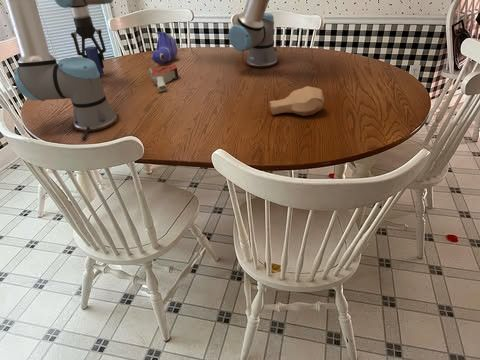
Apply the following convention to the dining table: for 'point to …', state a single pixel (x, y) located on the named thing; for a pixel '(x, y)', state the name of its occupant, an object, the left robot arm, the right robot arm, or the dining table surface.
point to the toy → (164, 49)
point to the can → (94, 57)
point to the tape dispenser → (163, 76)
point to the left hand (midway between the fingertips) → (96, 68)
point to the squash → (300, 102)
